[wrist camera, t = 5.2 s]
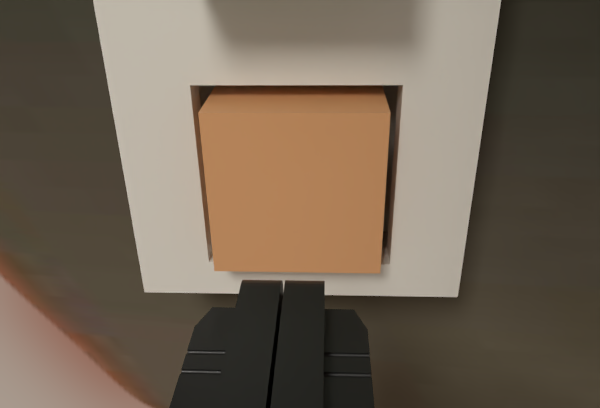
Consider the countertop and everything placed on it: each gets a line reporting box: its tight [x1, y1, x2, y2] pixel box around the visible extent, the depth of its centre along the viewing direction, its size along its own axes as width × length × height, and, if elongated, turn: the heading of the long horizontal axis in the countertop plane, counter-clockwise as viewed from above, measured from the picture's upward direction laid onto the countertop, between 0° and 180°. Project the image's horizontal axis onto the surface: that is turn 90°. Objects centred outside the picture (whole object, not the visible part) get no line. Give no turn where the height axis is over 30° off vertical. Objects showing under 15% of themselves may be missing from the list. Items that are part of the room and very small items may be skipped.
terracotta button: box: [198, 85, 391, 273], centre depth 16 cm, size 5×5×3 cm
